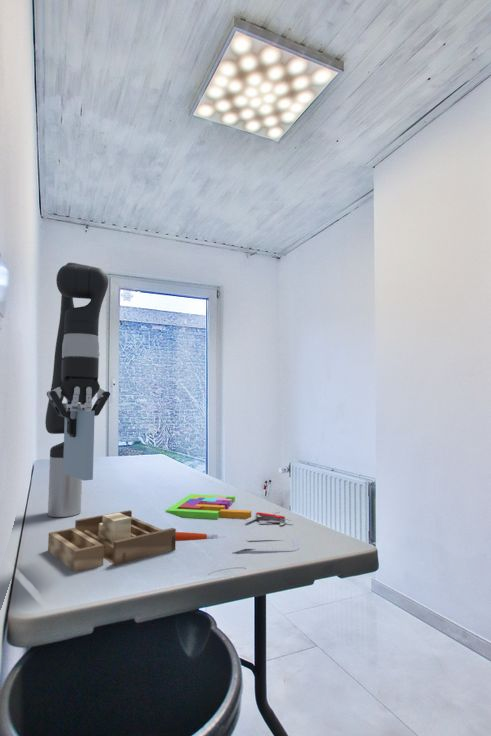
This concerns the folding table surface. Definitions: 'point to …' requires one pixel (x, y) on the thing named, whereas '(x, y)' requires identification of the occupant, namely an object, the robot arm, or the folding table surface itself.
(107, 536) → the offcut mid
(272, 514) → the swiss army knife
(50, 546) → the stand
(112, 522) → the offcut short
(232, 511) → the toy blocks
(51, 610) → the folding table surface
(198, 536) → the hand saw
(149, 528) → the rack
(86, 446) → the panel
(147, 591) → the folding table surface
